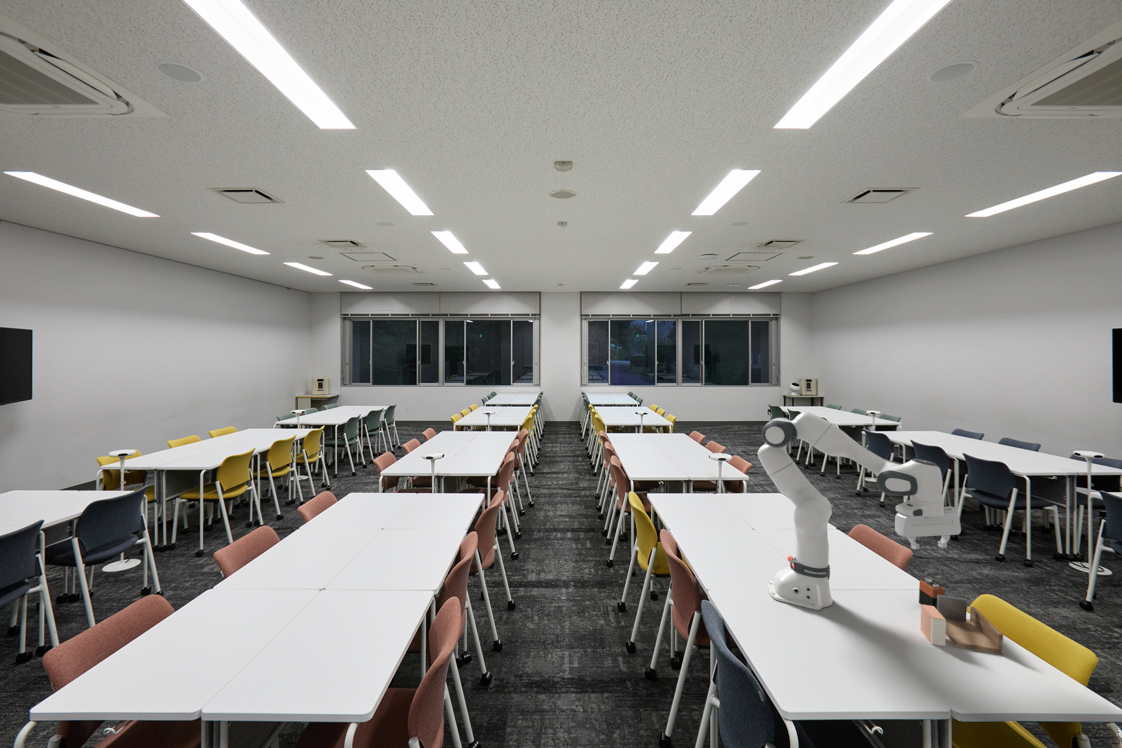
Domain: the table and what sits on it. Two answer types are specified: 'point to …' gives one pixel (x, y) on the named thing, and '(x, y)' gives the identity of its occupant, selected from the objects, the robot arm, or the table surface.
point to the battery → (929, 592)
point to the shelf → (975, 633)
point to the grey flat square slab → (952, 607)
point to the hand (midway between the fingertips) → (928, 548)
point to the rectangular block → (933, 625)
